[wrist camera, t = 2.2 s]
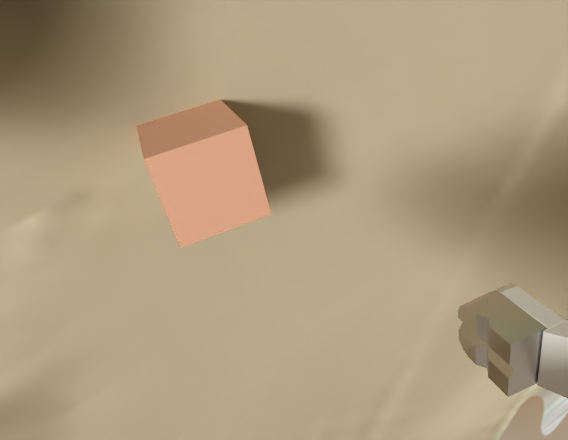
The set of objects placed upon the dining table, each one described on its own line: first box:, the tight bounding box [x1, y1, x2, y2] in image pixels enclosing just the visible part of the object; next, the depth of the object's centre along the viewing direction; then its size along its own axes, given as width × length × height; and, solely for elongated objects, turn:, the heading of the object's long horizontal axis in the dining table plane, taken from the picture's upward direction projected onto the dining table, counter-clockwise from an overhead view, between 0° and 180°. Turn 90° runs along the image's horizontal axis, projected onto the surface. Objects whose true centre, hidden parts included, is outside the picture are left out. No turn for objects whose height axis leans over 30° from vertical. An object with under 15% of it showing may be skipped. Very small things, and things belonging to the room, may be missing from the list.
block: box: [137, 100, 271, 248], centre depth 25 cm, size 5×5×6 cm
